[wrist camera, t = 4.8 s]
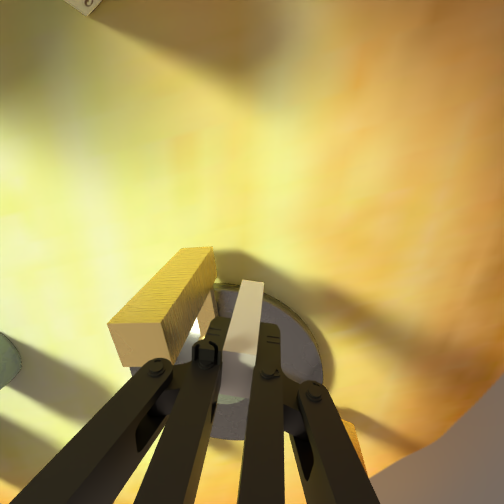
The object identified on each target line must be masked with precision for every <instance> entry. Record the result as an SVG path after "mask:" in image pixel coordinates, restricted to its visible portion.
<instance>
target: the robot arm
mask: <svg viewBox="0 0 504 504" xmlns="http://www.w3.org/2000/svg"><path fill="white" fill-rule="evenodd" d="M263 289H264V282H256V281H249V280H242V283H241V286H240V290H239V293H238V297H237V300H236V304H235V308H234V311H233V315H232V318H226V317H219V316H216V317H215V318H214V319H213V320H212V321H211V322H210V325H209V327H208V330H207V332H206V335H205V337H204V339H202V340H199V341H197V342H196V343H194V345H193V346H192V360H191V361H190V362H187V363H184V364H177V365H172V363H171V361H169V360H168V359H166V358H154V359H152V360H149V361H148V362H147V363H145V364H144V365H143V366H142V367H141V368H140V369H139V370H138V371H137V372H136V373H135V374H134V375H133V376H132V377H131V378H130V380H129V381H128V382H127V383H126V384H125V385H124V386H123V387H122V388H121V389H120V390H119V391H118V392H117V393H116V394H115V395H114V396H113V397H112V398H111V399H110V400H109V401H108V402H107V403H106V404H105V405H104V406H103V407H102V408H101V409H100V410H99V411H98V412H97V414H96V415H95V416H94V417H93V418H92V419H91V420H90V421H89V422H88V423H87V424H86V425H85V426H84V427H83V428H82V429H81V430H80V431H79V432H78V433H77V434H76V435H75V436H74V437H73V438H72V439H71V440H70V441H69V442H68V443H67V444H66V445H65V446H64V447H63V449H62V450H61V451H60V452H59V453H58V454H57V455H56V456H55V457H54V458H53V459H52V460H51V461H50V462H49V463H48V464H47V465H46V466H45V467H44V468H43V469H42V470H41V471H40V472H39V473H38V474H37V475H36V476H35V477H34V478H33V479H32V480H31V481H30V483H29V484H28V485H27V486H26V487H25V488H24V489H23V490H22V491H21V492H20V493H19V494H18V495H17V496H16V497H15V498H14V499H13V500H12V501H11V502H10V503H9V504H112V503H113V502H114V500H115V499H116V497H117V496H118V494H119V493H120V491H121V490H122V488H123V487H124V486H125V484H126V483H127V481H128V480H129V478H130V477H131V475H132V474H133V472H134V471H135V469H136V468H137V466H138V465H139V463H140V462H141V460H142V459H143V457H144V456H145V454H146V453H147V451H148V450H149V448H150V447H151V445H152V444H153V442H154V441H155V439H156V438H157V436H158V435H159V433H160V432H161V430H162V429H163V428H164V430H163V432H162V435H161V437H160V440H159V442H158V444H157V447H156V449H155V452H154V454H153V457H152V459H151V462H150V464H149V467H148V469H147V471H146V474H145V476H144V479H143V481H142V484H141V486H140V489H139V491H138V493H137V496H136V498H135V501H134V503H133V504H194V501H195V497H196V493H197V489H198V484H199V480H200V476H201V472H202V468H203V463H204V459H205V455H206V451H207V447H208V442H209V438H210V434H211V430H212V425H213V421H214V417H215V413H216V409H217V402H218V395H219V394H222V395H229V396H235V397H241V398H247V399H249V407H248V414H247V423H246V431H245V440H244V448H243V456H242V465H241V473H240V481H239V490H238V498H237V504H285V487H284V431H286V432H287V433H289V436H290V440H291V444H292V448H293V452H294V456H295V460H296V463H297V467H298V471H299V475H300V479H301V483H302V487H303V490H304V494H305V498H306V502H307V504H380V502H379V500H378V498H377V496H376V494H375V491H374V489H373V487H372V485H371V483H370V480H369V478H368V476H367V474H366V472H365V470H364V467H363V465H362V463H361V461H360V459H359V457H358V454H357V452H356V450H355V448H354V446H353V444H352V441H351V439H350V437H349V435H348V433H347V431H346V428H345V426H344V424H343V422H342V420H341V418H340V415H339V413H338V411H337V409H336V407H335V405H334V403H333V400H332V398H331V396H330V394H329V392H328V391H327V389H326V388H325V387H324V386H323V385H322V384H321V383H319V382H316V381H312V380H307V381H304V382H302V383H301V384H299V383H297V382H295V381H293V380H291V379H289V378H288V377H287V376H286V375H285V374H284V373H283V371H282V369H281V345H280V344H281V339H280V338H281V334H280V329H279V327H278V326H277V324H271V323H264V322H260V317H261V308H262V298H263ZM219 391H220V393H219ZM164 426H165V427H164Z"/></svg>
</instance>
